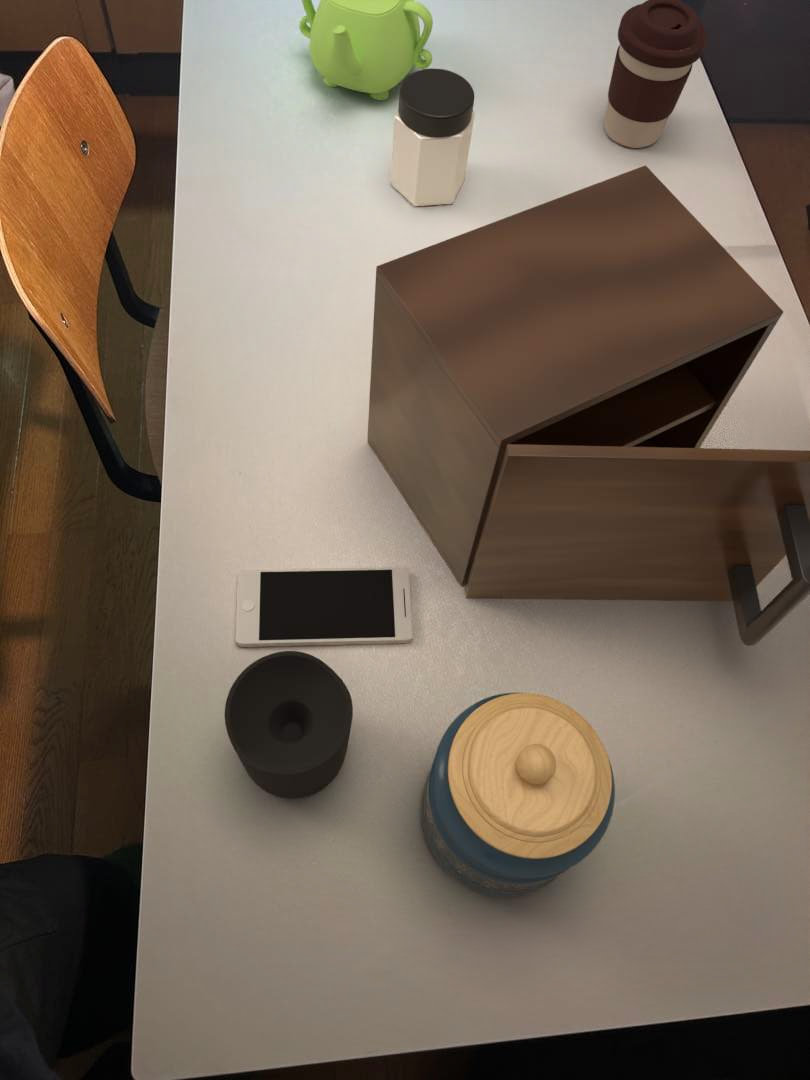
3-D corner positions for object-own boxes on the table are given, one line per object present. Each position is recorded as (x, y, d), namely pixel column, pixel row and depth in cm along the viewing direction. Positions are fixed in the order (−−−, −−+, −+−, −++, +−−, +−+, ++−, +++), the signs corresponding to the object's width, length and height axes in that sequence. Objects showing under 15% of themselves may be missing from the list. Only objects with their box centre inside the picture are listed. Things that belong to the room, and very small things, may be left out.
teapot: (441, 107, 117) (453, 9, 106) (333, 127, 114) (333, 28, 102) (397, 29, 124) (404, -71, 112) (294, 45, 120) (290, -56, 109)
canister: (508, 937, 72) (556, 909, 56) (386, 818, 75) (399, 762, 60) (608, 812, 77) (677, 755, 61) (489, 706, 80) (525, 627, 65)
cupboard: (682, 476, 93) (784, 311, 72) (460, 587, 86) (501, 440, 64) (580, 349, 100) (645, 164, 79) (366, 442, 92) (376, 266, 71)
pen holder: (351, 693, 80) (353, 651, 71) (350, 804, 76) (352, 773, 67) (241, 693, 80) (229, 650, 71) (233, 805, 75) (220, 774, 66)
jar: (457, 156, 113) (470, 65, 102) (471, 204, 109) (485, 114, 98) (384, 160, 111) (389, 69, 101) (395, 209, 108) (402, 119, 97)
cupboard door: (757, 670, 83) (898, 548, 63) (469, 669, 82) (515, 543, 61) (741, 591, 87) (869, 451, 66) (465, 588, 85) (506, 443, 65)
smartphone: (238, 573, 85) (237, 569, 84) (408, 570, 86) (408, 566, 85) (236, 647, 81) (235, 643, 80) (412, 643, 83) (413, 639, 82)
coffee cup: (585, 104, 119) (616, -13, 105) (660, 103, 120) (700, -13, 107) (601, 158, 114) (635, 43, 101) (678, 156, 115) (723, 42, 102)
